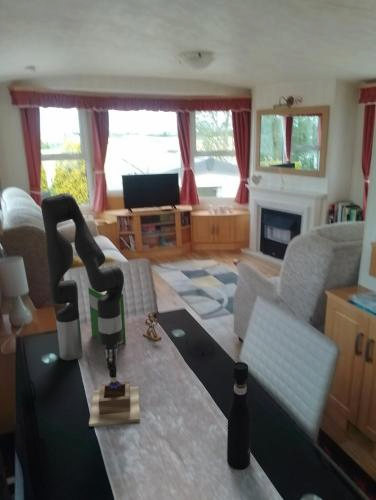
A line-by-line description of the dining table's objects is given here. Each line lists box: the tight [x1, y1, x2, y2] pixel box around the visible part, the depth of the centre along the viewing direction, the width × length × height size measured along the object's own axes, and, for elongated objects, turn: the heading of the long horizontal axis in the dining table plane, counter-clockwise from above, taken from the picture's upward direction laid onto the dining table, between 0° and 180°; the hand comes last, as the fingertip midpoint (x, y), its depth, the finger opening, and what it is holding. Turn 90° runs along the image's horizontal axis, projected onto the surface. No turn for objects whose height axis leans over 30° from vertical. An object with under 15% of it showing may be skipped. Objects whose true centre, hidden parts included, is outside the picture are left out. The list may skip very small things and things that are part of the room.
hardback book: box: [87, 286, 127, 345], centre depth 179 cm, size 18×7×24 cm, turn 41°
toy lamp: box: [103, 345, 121, 390], centre depth 131 cm, size 5×5×17 cm
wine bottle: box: [226, 361, 252, 471], centre depth 107 cm, size 6×6×30 cm
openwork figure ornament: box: [142, 312, 162, 342], centre depth 182 cm, size 9×4×12 cm, turn 47°
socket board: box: [88, 380, 141, 427], centre depth 134 cm, size 18×16×6 cm
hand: (113, 374), depth 132 cm, fingers closed on toy lamp
